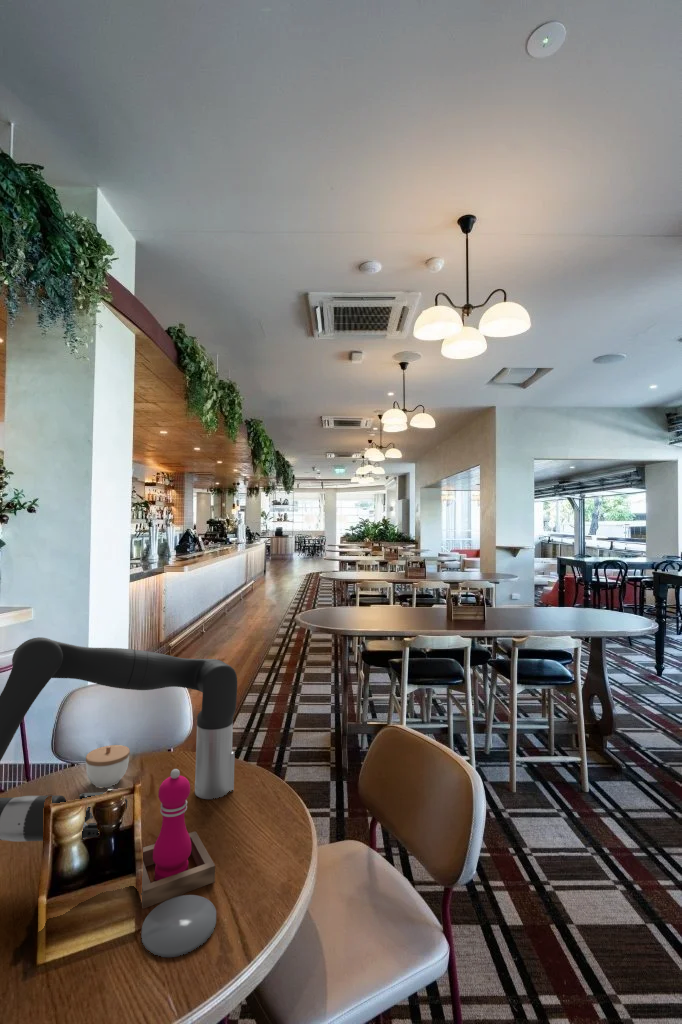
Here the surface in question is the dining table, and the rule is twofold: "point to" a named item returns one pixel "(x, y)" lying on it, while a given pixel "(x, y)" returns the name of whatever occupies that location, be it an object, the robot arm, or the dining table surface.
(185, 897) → the grey round disc
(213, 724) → the robot arm
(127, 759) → the lidded jar
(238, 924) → the dining table surface
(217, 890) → the dining table surface
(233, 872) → the dining table surface
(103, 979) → the dining table surface
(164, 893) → the walnut board
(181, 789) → the pepper mill
